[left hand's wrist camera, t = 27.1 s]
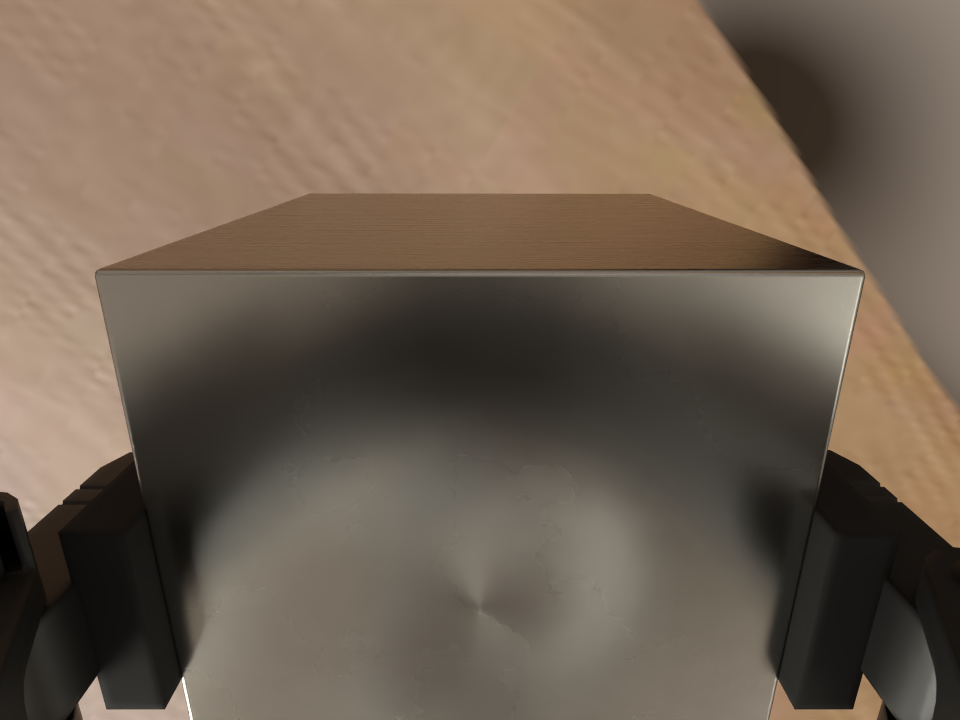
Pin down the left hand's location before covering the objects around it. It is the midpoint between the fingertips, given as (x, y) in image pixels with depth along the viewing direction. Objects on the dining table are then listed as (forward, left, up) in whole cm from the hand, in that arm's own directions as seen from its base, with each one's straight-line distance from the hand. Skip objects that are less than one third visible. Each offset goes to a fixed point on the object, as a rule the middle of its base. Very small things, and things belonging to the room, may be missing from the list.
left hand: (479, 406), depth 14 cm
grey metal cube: (0, 0, -3) cm, 3 cm away
